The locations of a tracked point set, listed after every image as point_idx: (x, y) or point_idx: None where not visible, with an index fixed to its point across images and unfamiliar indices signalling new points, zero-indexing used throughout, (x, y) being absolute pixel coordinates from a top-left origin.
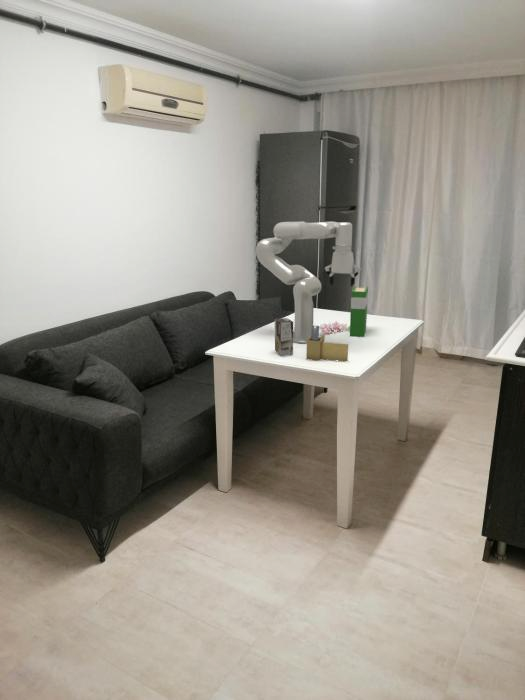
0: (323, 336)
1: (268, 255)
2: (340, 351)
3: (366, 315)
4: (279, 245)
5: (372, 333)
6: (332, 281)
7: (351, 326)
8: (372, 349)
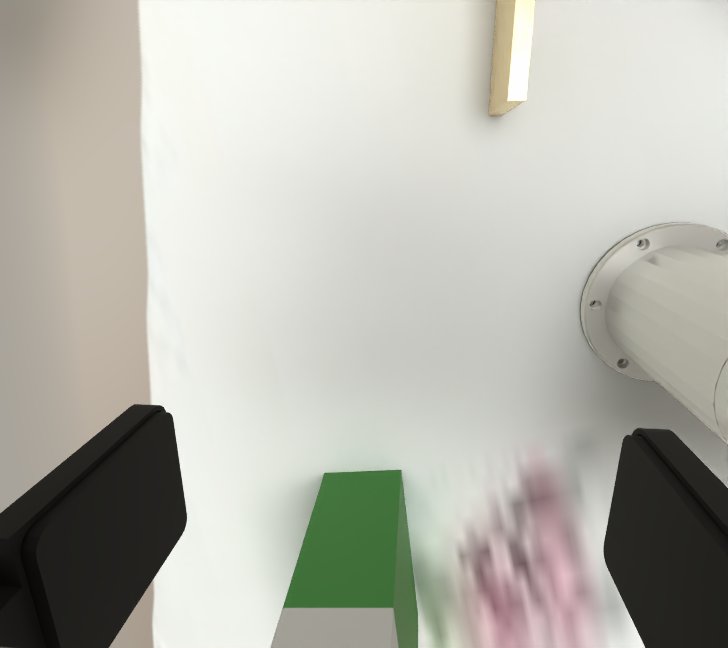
0: (509, 62)
1: None
2: None
3: None
4: None
5: None
6: (669, 484)
7: (389, 508)
8: (216, 236)
